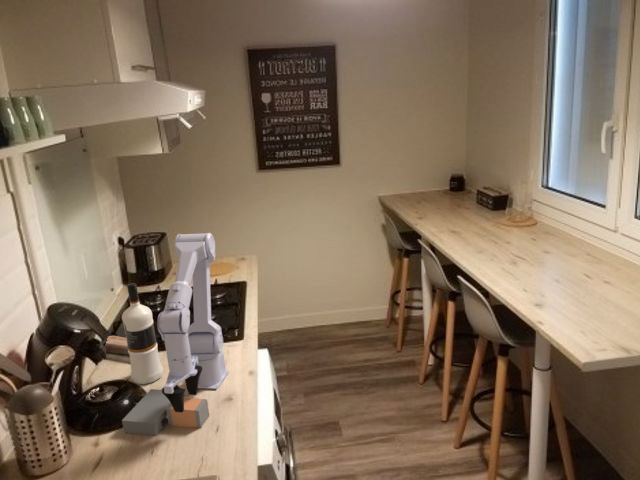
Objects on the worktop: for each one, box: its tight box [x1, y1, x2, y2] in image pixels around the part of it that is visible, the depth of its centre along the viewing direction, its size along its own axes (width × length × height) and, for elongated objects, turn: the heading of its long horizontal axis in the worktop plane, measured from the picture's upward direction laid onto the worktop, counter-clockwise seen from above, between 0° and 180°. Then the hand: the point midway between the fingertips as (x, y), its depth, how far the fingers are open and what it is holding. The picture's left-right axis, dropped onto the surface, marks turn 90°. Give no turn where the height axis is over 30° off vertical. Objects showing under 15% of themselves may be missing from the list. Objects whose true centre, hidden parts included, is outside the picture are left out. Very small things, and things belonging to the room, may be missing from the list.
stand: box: [121, 388, 170, 436], centre depth 137 cm, size 14×9×4 cm, turn 167°
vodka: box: [121, 282, 164, 385], centre depth 153 cm, size 9×9×30 cm
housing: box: [166, 396, 210, 429], centre depth 135 cm, size 9×5×5 cm, turn 77°
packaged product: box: [105, 335, 131, 364], centre depth 172 cm, size 18×5×10 cm
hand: (186, 402), depth 134 cm, fingers open, 7 cm apart
